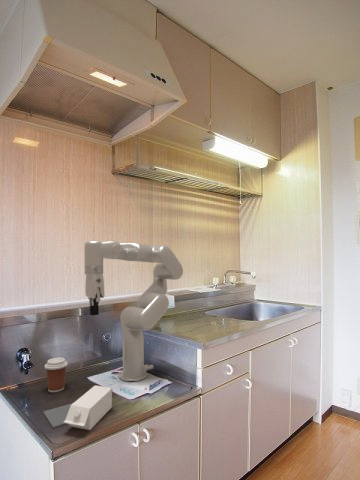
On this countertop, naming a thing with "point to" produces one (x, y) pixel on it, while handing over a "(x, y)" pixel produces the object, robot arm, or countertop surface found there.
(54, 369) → the coffee cup
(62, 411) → the mat
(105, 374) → the countertop surface
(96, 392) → the milk carton
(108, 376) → the countertop surface
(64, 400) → the countertop surface
